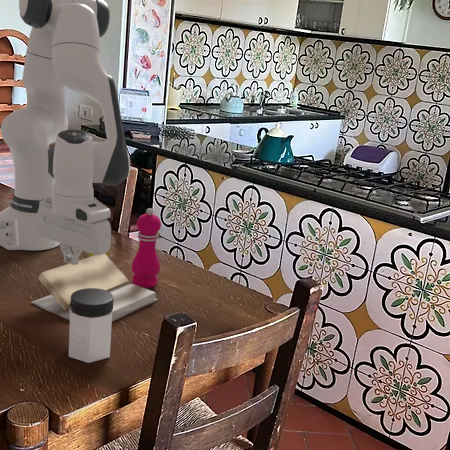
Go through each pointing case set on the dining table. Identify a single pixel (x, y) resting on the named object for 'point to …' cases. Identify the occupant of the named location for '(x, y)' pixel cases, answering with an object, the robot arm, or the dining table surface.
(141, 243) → the pepper mill
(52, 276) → the birch plank
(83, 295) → the jar
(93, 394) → the dining table surface
